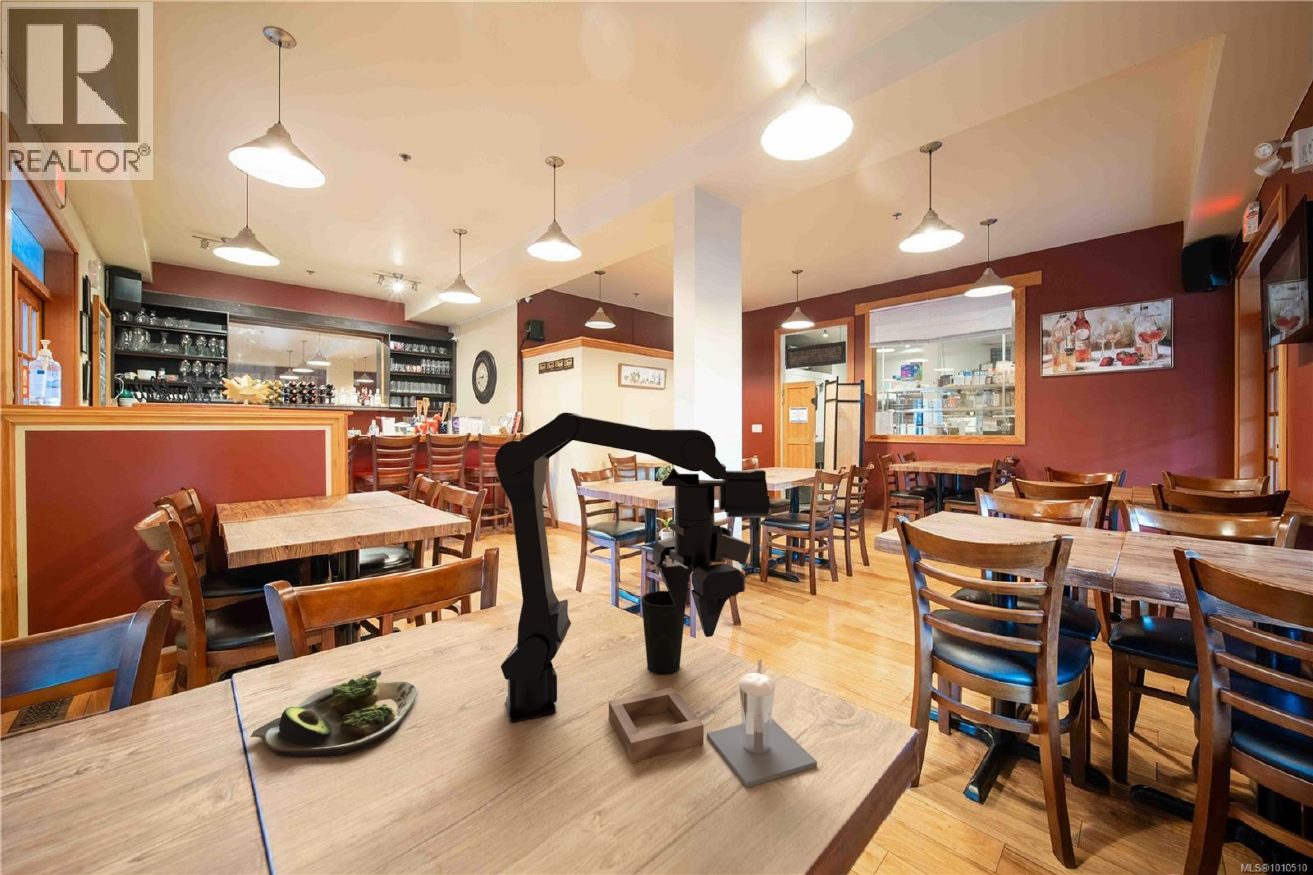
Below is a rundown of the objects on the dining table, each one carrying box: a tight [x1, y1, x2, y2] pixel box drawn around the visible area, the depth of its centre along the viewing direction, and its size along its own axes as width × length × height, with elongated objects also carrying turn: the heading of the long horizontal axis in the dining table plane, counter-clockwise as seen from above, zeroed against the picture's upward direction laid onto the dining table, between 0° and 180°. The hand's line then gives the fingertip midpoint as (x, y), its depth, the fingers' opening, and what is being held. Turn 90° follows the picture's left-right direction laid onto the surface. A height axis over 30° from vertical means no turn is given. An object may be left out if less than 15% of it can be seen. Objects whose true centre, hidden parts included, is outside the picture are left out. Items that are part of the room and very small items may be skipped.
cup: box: [641, 590, 686, 676], centre depth 86 cm, size 8×8×12 cm
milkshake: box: [738, 658, 776, 754], centre depth 65 cm, size 5×5×10 cm
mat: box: [706, 718, 818, 789], centre depth 65 cm, size 10×10×1 cm
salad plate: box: [250, 670, 419, 759], centre depth 73 cm, size 19×18×5 cm
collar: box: [608, 687, 705, 763], centre depth 69 cm, size 10×10×2 cm
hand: (694, 623), depth 73 cm, fingers open, 9 cm apart
